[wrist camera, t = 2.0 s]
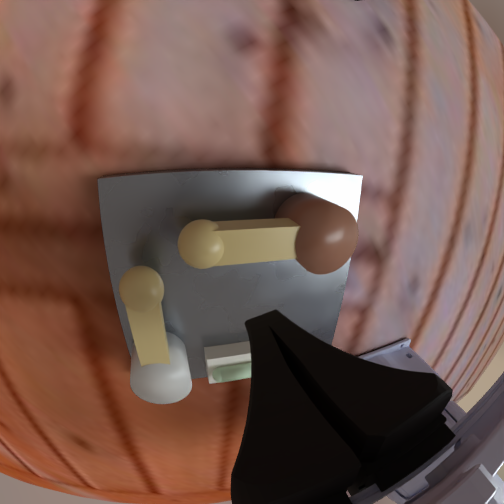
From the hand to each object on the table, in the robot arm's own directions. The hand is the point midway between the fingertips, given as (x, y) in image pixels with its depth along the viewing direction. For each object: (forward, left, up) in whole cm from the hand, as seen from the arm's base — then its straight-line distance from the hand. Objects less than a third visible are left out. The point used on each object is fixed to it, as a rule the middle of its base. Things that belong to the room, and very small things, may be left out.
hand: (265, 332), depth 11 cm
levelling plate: (-1, +1, -7) cm, 7 cm away
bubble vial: (0, +7, -6) cm, 9 cm away
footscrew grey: (+5, +3, -6) cm, 8 cm away
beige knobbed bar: (-1, -3, -6) cm, 6 cm away
